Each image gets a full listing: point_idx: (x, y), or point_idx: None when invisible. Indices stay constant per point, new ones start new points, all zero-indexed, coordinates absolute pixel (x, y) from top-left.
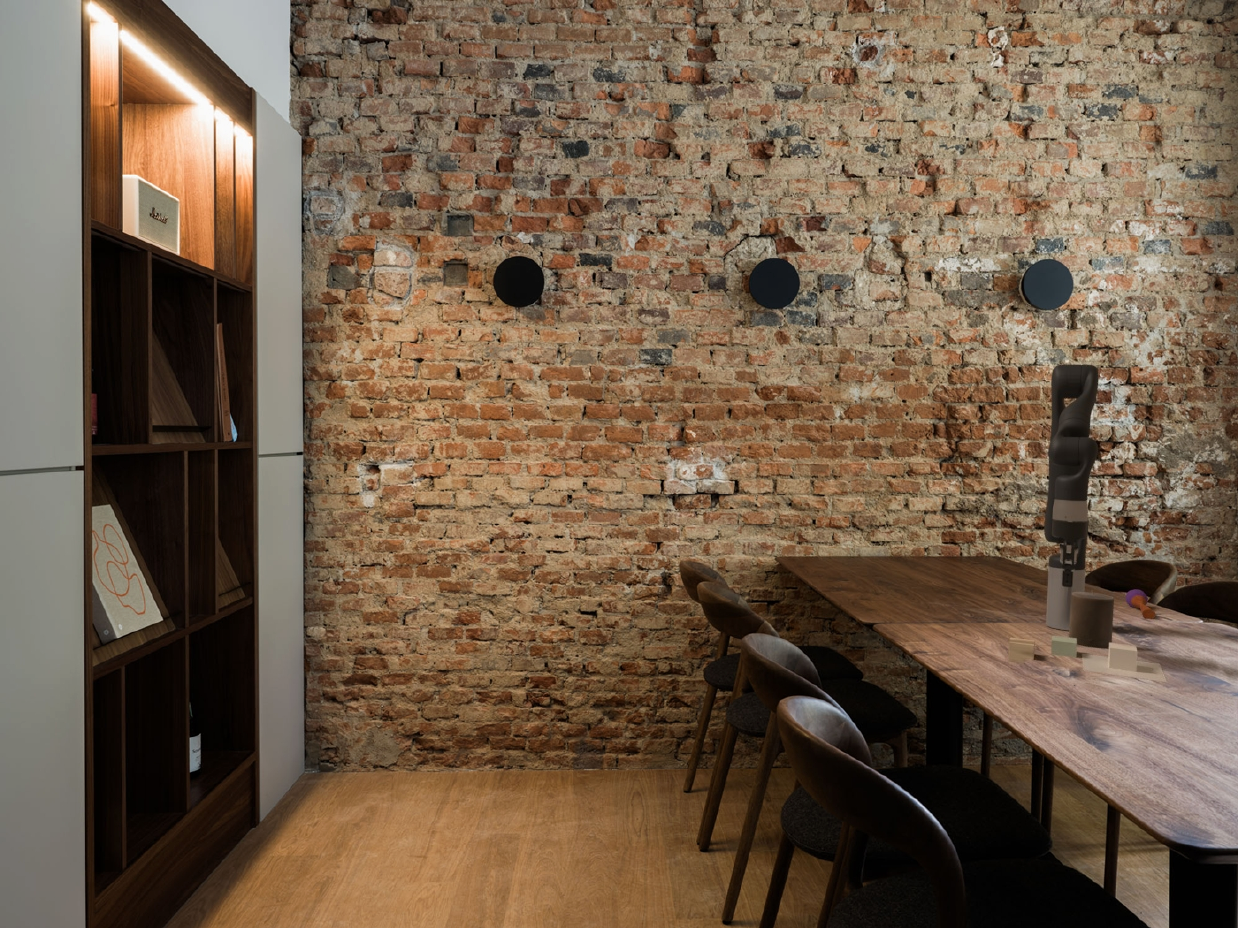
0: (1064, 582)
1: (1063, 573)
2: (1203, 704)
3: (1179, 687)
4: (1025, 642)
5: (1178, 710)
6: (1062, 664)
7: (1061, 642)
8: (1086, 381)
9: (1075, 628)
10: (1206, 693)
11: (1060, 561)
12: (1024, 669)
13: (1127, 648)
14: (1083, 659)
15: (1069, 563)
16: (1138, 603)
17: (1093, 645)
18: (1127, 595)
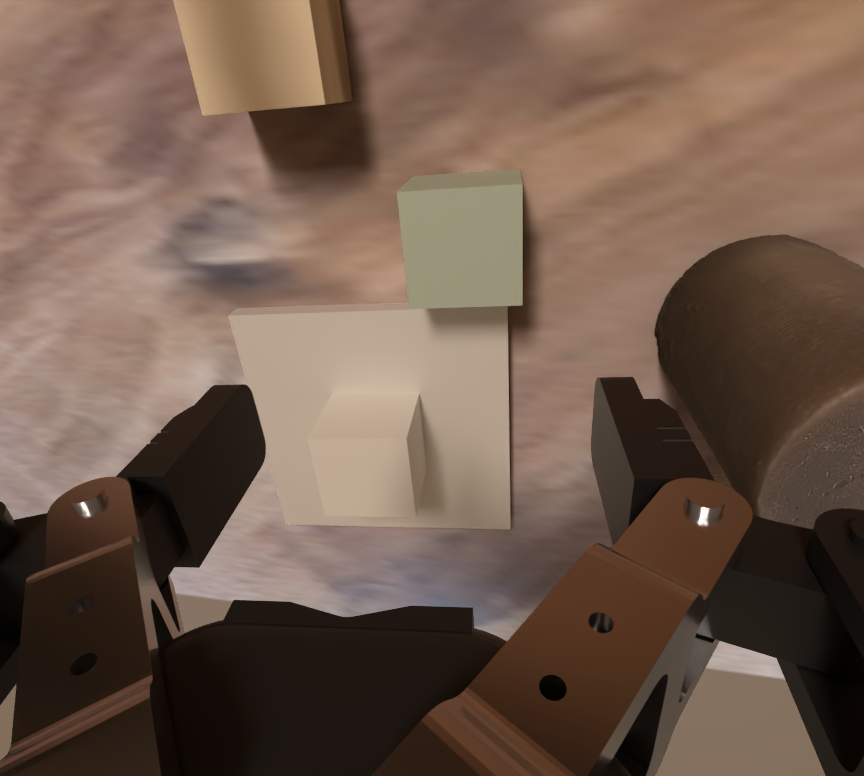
0: (172, 421)
1: (146, 467)
2: None
3: (317, 538)
4: (238, 57)
5: None
6: (348, 230)
7: (404, 239)
8: None
9: (731, 297)
10: (306, 580)
11: (106, 545)
12: (139, 82)
13: (343, 490)
14: (403, 313)
15: (173, 621)
16: None
17: (664, 350)
18: None
